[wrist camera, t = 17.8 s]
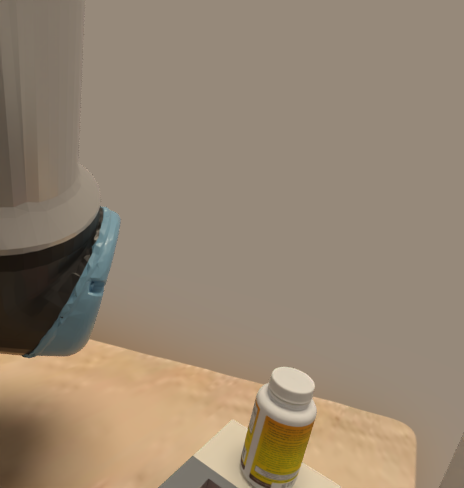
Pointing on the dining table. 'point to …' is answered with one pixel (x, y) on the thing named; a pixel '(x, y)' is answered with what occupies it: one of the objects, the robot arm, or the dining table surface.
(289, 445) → the supplement bottle
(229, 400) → the dining table surface
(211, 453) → the board
